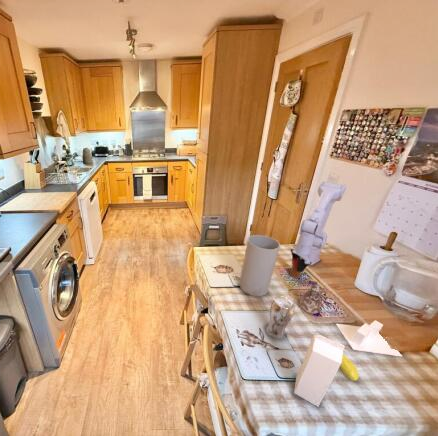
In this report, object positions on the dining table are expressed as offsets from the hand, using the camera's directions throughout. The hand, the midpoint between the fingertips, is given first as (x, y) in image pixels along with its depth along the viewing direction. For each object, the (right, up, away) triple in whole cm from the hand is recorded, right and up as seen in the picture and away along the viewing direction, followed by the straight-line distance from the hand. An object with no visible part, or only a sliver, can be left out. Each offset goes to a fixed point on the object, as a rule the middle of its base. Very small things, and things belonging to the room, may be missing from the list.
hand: (297, 267), depth 115 cm
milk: (-28, -27, -47) cm, 60 cm away
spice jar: (0, -4, +2) cm, 5 cm away
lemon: (-11, -24, -41) cm, 49 cm away
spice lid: (0, +3, -2) cm, 4 cm away
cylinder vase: (-25, -8, -6) cm, 27 cm away
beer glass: (-27, -19, -28) cm, 43 cm away
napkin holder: (+5, -20, -31) cm, 37 cm away
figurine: (-6, -13, -17) cm, 23 cm away
